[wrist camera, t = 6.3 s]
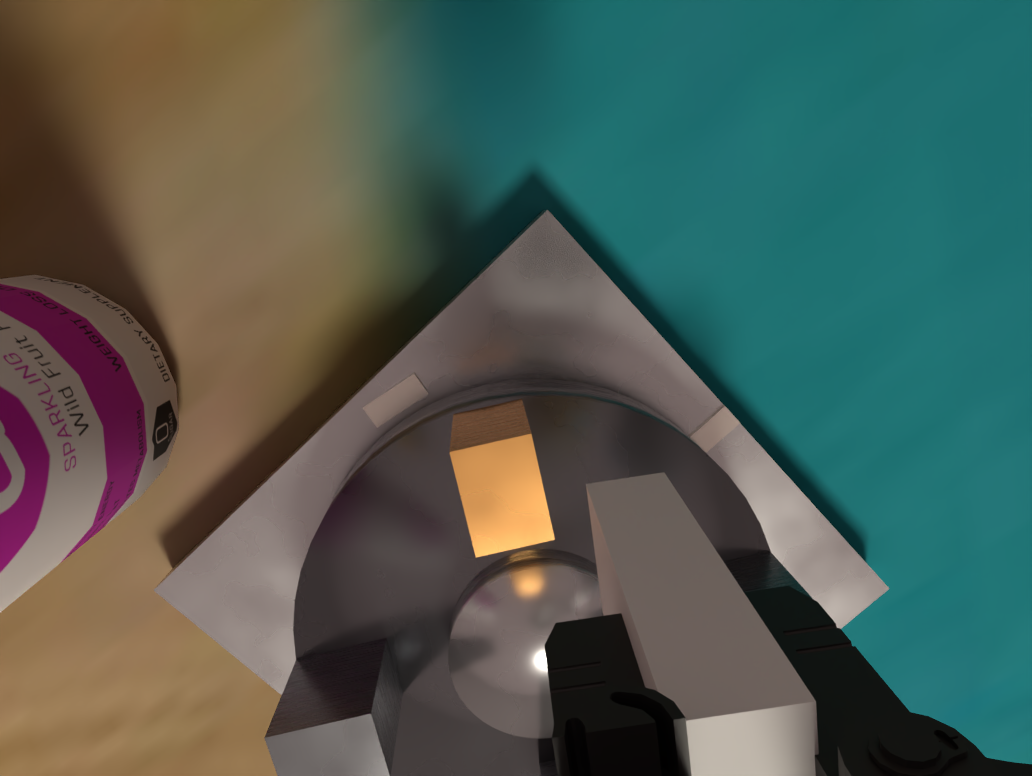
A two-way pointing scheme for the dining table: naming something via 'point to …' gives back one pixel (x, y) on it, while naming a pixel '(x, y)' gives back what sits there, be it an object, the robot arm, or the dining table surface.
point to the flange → (469, 364)
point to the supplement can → (73, 421)
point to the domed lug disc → (475, 578)
